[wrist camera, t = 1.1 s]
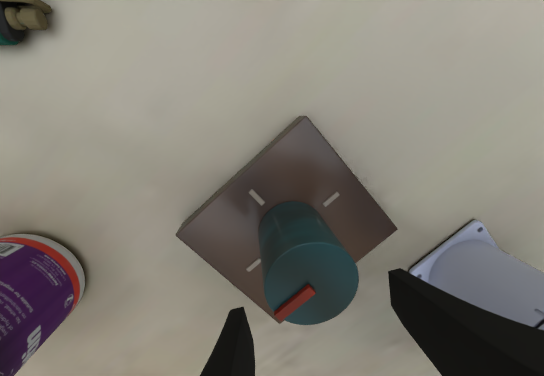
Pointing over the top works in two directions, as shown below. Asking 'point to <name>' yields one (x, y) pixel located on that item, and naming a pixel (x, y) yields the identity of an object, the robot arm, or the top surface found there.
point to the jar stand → (279, 189)
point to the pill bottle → (34, 295)
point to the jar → (304, 265)
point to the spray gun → (21, 19)
